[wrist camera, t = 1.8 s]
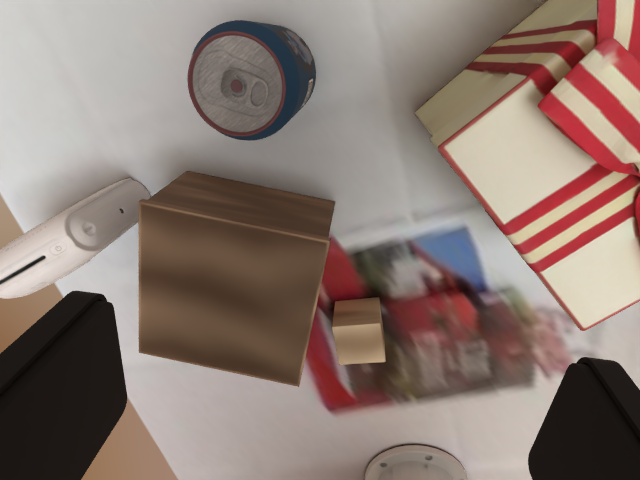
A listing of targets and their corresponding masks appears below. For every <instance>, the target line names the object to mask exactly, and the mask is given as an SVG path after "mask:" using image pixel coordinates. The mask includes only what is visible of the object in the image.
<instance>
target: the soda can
mask: <svg viewBox="0 0 640 480" xmlns="http://www.w3.org/2000/svg"><path fill="white" fill-rule="evenodd" d="M315 79H316V70H315V63H314V59H313V56H312V54H311V52H310V50H309V48H308V46H307V45H306V43H305V42H304V41H303V40H302V39H301V38H300V37H299V36H298V35H297V34H296V33H294V32H293V31H291V30H289V29H287V28H284V27H281V26H276V25H270V24H263V23H257V22H250V21H242V20H240V21H230V22H226V23H223V24H220V25H218V26H216V27H214V28H213V29H211V30H210V31H208V32H207V33H206V34H205V35H204V36H203V37H202V38H201V40H200V41H199V42H198V44H197V46H196V47H195V49H194V52H193V54H192V57H191V61H190V65H189V70H188V89H189V93H190V97H191V100H192V102H193V104H194V106H195V108H196V110H197V112H198V113H199V115H200V116H201V117H202V118H203V119H204V121H205V122H207V123H208V124H209V125H210V126H211V127H213V128H214V129H216V130H217V131H219V132H220V133H222V134H224V135H226V136H229V137H232V138H235V139H239V140H258V139H263V138H266V137H268V136H270V135H272V134H274V133H276V132H277V131H278V130H280V129H281V128H282V127H283V126H284V125H285V124H286V123H287V122H288V121H289V120H290V119H291V118H292V117H293V116H294V115H295V114H296V113H297V112H298V111H299V110H300V109H301V108H302V107H303V106H304V105H305V104H306V102H307V101H308V100H309V98H310V96H311V94H312V92H313V89H314V85H315Z"/></svg>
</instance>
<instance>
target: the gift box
mask: <svg viewBox="0 0 640 480" xmlns="http://www.w3.org/2000/svg"><path fill="white" fill-rule="evenodd" d="M414 114H415V115H416V116H417V118H418V119H419V120H420V121H421V123H422V124H423V125H424V126H425V128H426V129H427V130H428V132H429V133H430V134H431V135H432V137H431V138H430V140H431V142H432V143H433V145H434V146H435V147H436V148H437V150H438V151H439V152H440V153H441V155H442V156H443V157H444V158H445V159H446V161H447V162H448V163H449V164H450V166H451V168H452V169H454V171H455V172H456V173H457V174H458V176H459V177H460V178H461V179H462V181H463V182H464V183H465V184H466V186H467V187H468V188H469V189H470V191H471V192H472V193H473V195H474V196H475V197H476V198H477V200H478V201H479V202H480V203H481V205H482V206H483V207H484V208H485V211H486V212H487V213H488V215H489V216H490V217H491V218H492V220H493V221H494V222H495V224H496V225H497V227H498V228H499V229H500V230H501V231H502V232H503V234H504V235H505V236H506V237H507V238H508V240H509V241H510V242H511V244H512V245H513V246H514V248H515V249H516V250H517V251H518V253H519V254H520V256H521V257H522V258H523V260H524V261H525V262H526V263H527V265H528V266H529V267H530V268H531V269H532V270H533V271H534V272H535V273H536V275H537V276H538V277H539V279H540V280H541V281H542V282H543V284H544V285H545V286H546V288H547V289H548V290H549V291H550V293H551V294H552V295H553V297H554V298H555V299H556V301H557V302H558V303H559V305H560V306H561V307H562V308H563V310H564V311H565V312H566V313H567V314H568V316H569V317H570V318H571V319H572V321H573V322H574V323H575V324H576V325H577V327H578V328H579V329H580V330H582V331H585V330H587V329H589V328H591V327H593V326H595V325H596V324H598V323H600V322H602V321H604V320H606V319H608V318H610V317H611V316H613V315H615V314H617V313H619V312H621V311H622V310H624V309H626V308H628V307H630V306H631V305H633V304H635V303H637V302H639V301H640V0H548V1H546V2H545V3H544V4H543V5H542V6H540V7H539V8H538V9H537V10H535V11H534V12H533V13H532V14H531V15H529V16H528V17H527V18H526V19H524V20H523V21H522V22H521V23H520V24H518V25H517V26H516V27H515V28H514V29H512V30H511V31H510V32H509V33H507V34H506V35H504V36H503V37H502V38H501V39H499V40H498V41H497V42H495V43H494V44H493V45H492V46H490V47H489V48H488V49H487V50H486V51H485V52H483V53H482V54H481V55H480V56H479V57H478V58H476V59H475V60H474V61H473V62H472V63H471V64H470V65H468V66H467V67H466V68H465V69H464V70H463V71H462V72H461V73H460V74H459V75H457V76H456V77H455V78H454V79H453V80H451V81H450V82H449V83H448V84H447V85H446V86H444V87H443V88H442V89H441V90H440V91H439V92H437V93H436V94H435V95H434V96H433V97H432V98H430V99H429V100H428V101H427V102H426V103H425V104H424V105H422V106H421V107H420V108H419V109H418V110H417V111H416V112H415V113H414Z"/></svg>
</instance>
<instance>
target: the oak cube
mask: <svg viewBox="0 0 640 480" xmlns="http://www.w3.org/2000/svg"><path fill="white" fill-rule="evenodd" d="M332 329H333V335H334V340H335V345H336V350H337V356H338V361H339V365H344V364H359V363H374V362H385V345H384V331H383V323H382V316H381V308H380V300H379V297H377V298H366V299H355V300H344V301H335V307H334V315H333V324H332Z"/></svg>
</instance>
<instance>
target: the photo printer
mask: <svg viewBox="0 0 640 480" xmlns="http://www.w3.org/2000/svg"><path fill="white" fill-rule="evenodd" d="M149 198H151V197H150V194H149V192H148V191H147V189H146V188H145V187H144V186H143V185H142V184H140V183H139V182H137V181H133V180H132V179H131V178H128V179H124V180H121V181H118V182H116V183H114V184H112V185H110V186H108V187H106V188H104V189H102V190H100V191H98V192H96V193H95V194H93V195H91V196H89V197H87V198H85V199H84V200H82V201H80V202H78V203H76V204H75V205H73V206H71V207H69V208H68V209H66V210H64V211H63V212H61V213H59V214H57V215H56V216H54V217H52V218H51V219H49V220H47V221H45V222H44V223H42V224H40V225H38V226H37V227H35V228H33V229H31V230H30V231H28V232H26V233H25V234H23V235H21V236H20V237H18V238H17V239H15V240H14V241H12V242H10V243H9V244H7V245H6V246H4V247H3V248H2V249H0V298H16V297H22V296H26V295H29V294H31V293H33V292H36V291H38V290H40V289H42V288H44V287H46V286H48V285H50V284H52V283H54V282H56V281H57V280H59V279H61V278H63V277H64V276H66V275H68V274H70V273H71V272H73V271H75V270H76V269H78V268H79V267H81V266H82V265H84V264H85V263H87V262H88V261H90V259H92V258H93V257H94V256H96V255H97V254H98V253H99V252H101V251H102V250H103V249H104V248H106V247H107V246H108V245H109V244H111V243H112V242H113V241H115V240H116V239H117V238H118V237H120V236H121V235H122V234H123V233H125V232H126V231H127V230H128V229H130V228H131V227H132V226H134V225H135V224H136V223H137V222H139V201H140V200H141V199H147V200H148V199H149Z"/></svg>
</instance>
